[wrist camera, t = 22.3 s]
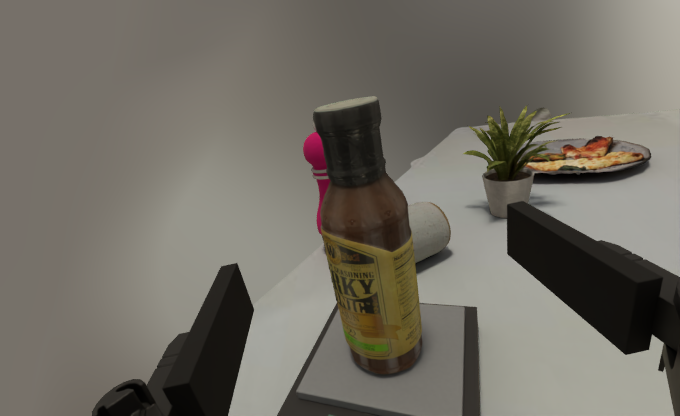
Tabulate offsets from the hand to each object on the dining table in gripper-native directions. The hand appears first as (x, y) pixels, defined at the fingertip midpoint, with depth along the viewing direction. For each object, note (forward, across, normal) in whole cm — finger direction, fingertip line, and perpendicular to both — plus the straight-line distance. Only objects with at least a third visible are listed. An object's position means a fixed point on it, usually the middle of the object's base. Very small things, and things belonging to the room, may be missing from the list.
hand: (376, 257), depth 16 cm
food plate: (+47, +45, -16) cm, 67 cm away
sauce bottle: (+7, 0, -13) cm, 15 cm away
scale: (+7, 0, -16) cm, 18 cm away
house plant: (+31, +25, -16) cm, 43 cm away
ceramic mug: (+26, +7, -16) cm, 32 cm away
